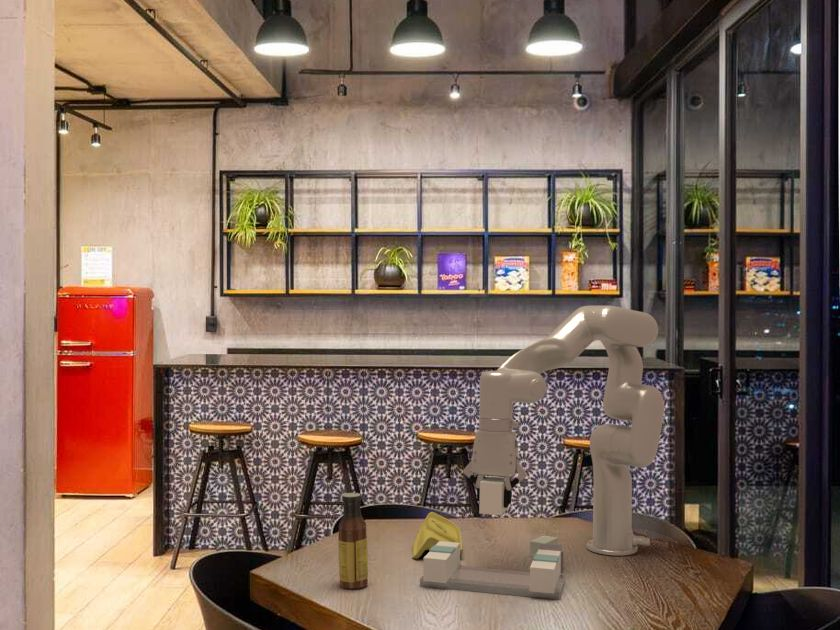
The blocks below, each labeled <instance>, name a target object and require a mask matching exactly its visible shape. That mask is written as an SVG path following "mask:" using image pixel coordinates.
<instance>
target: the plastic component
mask: <svg viewBox="0 0 840 630" xmlns="http://www.w3.org/2000/svg"><path fill="white" fill-rule="evenodd" d="M413 541H414V542H413V544H412V554H411V555H412V557H411V558H413V559H415V560H418V559H420V558H421V557H422V555H423V553H424V552H425V551H429V550H430V549H431V548H432V547H433V545H436V544H437V543H438V542H439V541H443V542H455V543H460V554H461V553H462V551H463V549H464V548H463V541H462V532H461V529H460V527H459V526H458V525H457V524H456V523H454V522H453V521H451V520H449V519H448V518H446V517H443V516H442V515H440V514H438V513H435V512H434V511H431V512H429V513H428V514H427V515H426V517H425V518H424V520H423V522H422V523H421V526H420V528H419V530H418V531H417V534H416V536H415V539H414V540H413Z"/></svg>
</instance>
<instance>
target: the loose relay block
mask: <svg viewBox="0 0 840 630" xmlns="http://www.w3.org/2000/svg"><path fill="white" fill-rule="evenodd" d="M540 550H552V551H561V574H564V550H563V547H562V544H558V545H550V544H540Z"/></svg>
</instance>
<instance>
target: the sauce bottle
mask: <svg viewBox="0 0 840 630" xmlns="http://www.w3.org/2000/svg"><path fill="white" fill-rule="evenodd" d="M341 499H342V500H341V501H342V505H343V506H342V507H343V508H342V511H343V513H342V514H343V516H342V518H341V519H340V522H339V523H338V541H337V542H338V567H339V569H338V570H339V572H338V573H339V576H338V577H339V585H340V586H341V587H342V588H344V589H347V590H349V589H350V590H358V589H362V588H365V587H366V586H368V584H369V583H368V582H369V581H368V578H369V565H368V564H369V563H368V562H369V561H368V559H369V558H368V556H369V555H368V536H367V523H366V521H365V520H364V519H365V518H364V517H363V516H362V512H361V501H362V495H361V493H358V492H346V493H344V494H342V495H341Z"/></svg>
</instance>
